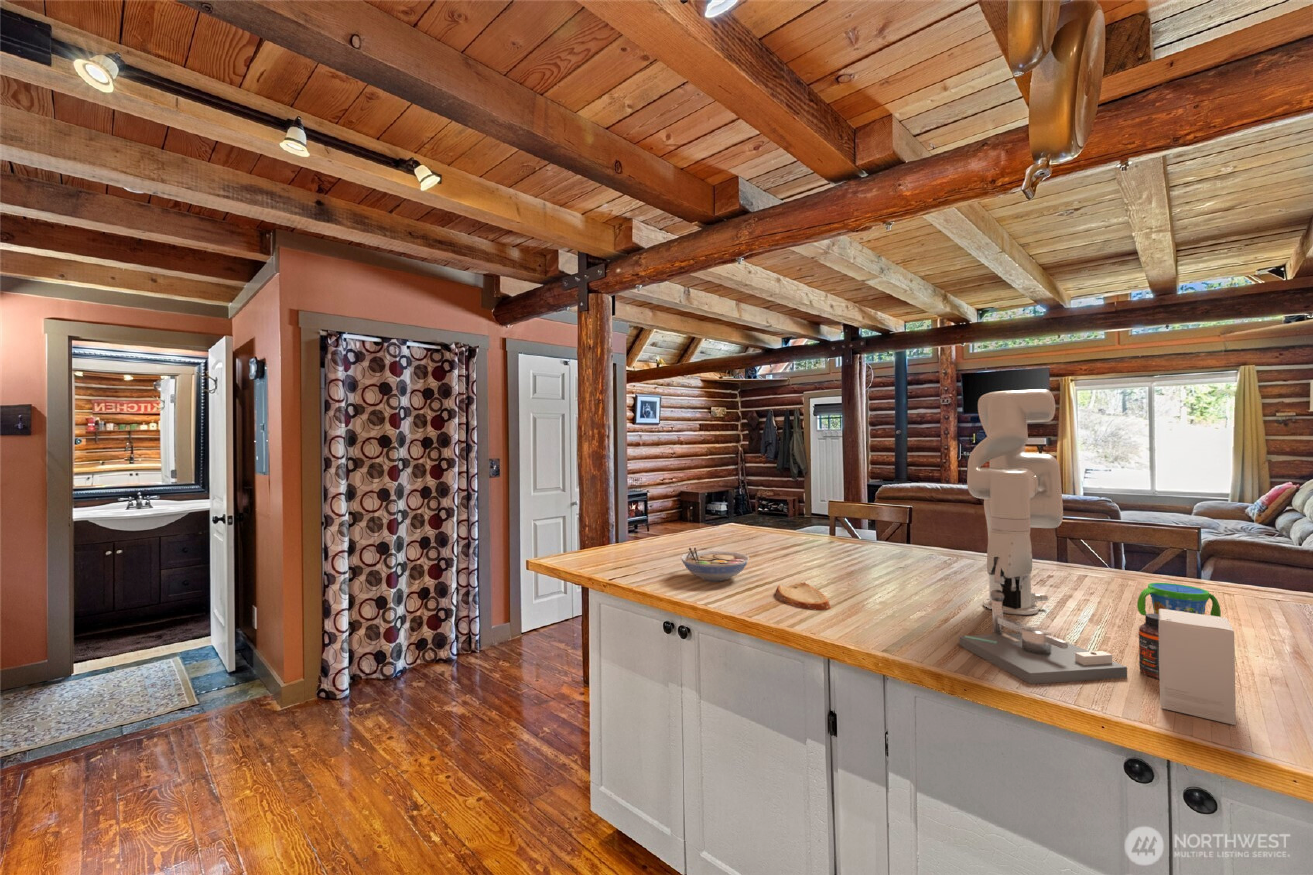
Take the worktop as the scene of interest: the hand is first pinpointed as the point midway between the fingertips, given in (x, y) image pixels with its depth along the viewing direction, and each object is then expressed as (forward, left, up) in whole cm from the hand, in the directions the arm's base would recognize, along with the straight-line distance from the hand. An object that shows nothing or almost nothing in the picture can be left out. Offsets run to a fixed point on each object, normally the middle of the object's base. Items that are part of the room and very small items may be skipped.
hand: (1011, 607), depth 124 cm
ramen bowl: (+53, -67, -8) cm, 86 cm away
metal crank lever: (+3, +8, -5) cm, 10 cm away
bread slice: (+33, -40, -8) cm, 52 cm away
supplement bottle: (-14, +20, -8) cm, 26 cm away
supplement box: (-7, +32, -8) cm, 34 cm away
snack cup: (-43, -1, -8) cm, 44 cm away
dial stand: (+3, +10, -8) cm, 13 cm away
